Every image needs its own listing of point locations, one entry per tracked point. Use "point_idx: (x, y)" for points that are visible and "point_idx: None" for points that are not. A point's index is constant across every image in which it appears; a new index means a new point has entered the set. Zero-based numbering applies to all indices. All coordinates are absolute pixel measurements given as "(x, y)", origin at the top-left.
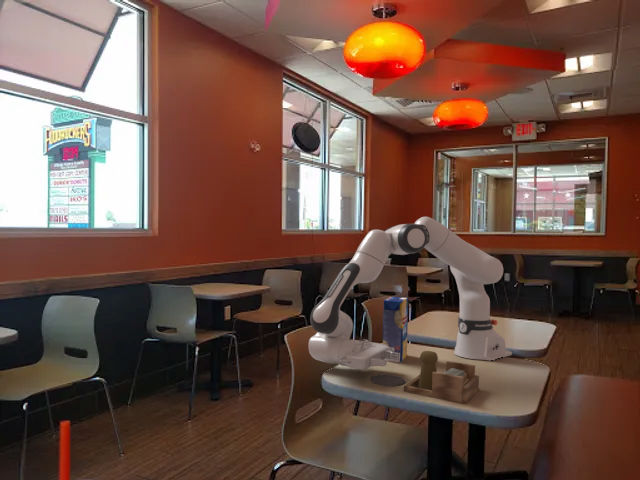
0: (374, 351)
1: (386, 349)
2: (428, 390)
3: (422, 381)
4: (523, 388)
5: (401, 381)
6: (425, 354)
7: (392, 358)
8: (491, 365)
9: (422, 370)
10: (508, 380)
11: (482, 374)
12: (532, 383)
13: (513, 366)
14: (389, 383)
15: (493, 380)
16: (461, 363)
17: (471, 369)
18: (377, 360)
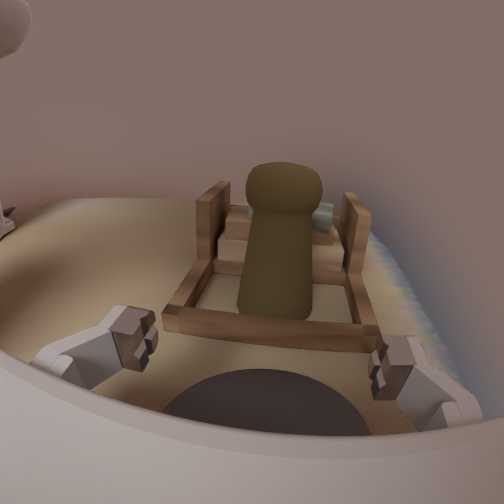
0: (228, 476)
1: (20, 361)
2: (357, 280)
3: (309, 288)
4: (187, 206)
5: (260, 382)
6: (317, 174)
7: (146, 360)
8: (40, 228)
9: (306, 249)
10: (141, 214)
11: (100, 234)
12: (154, 202)
13: (54, 213)
14: (331, 420)
15: (145, 224)
16: (212, 189)
17: (228, 193)
18: (442, 376)
